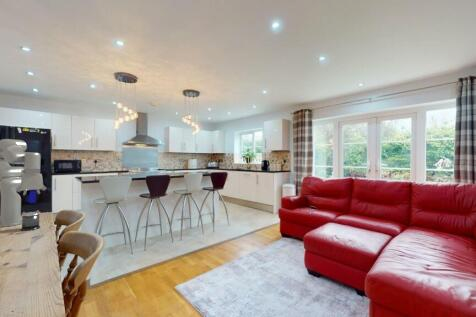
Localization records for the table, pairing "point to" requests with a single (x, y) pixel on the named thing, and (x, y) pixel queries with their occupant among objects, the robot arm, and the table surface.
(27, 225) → the motor
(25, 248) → the table surface
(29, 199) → the cable clip
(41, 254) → the table surface
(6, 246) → the table surface
